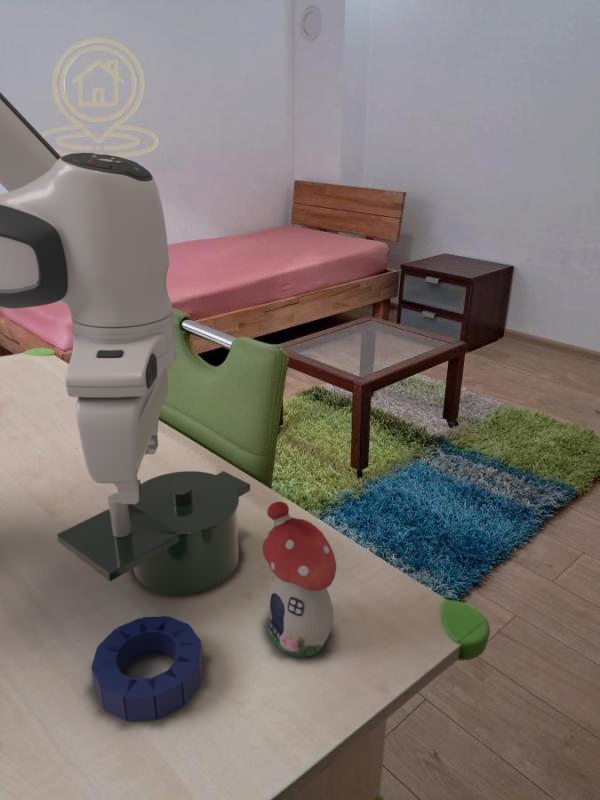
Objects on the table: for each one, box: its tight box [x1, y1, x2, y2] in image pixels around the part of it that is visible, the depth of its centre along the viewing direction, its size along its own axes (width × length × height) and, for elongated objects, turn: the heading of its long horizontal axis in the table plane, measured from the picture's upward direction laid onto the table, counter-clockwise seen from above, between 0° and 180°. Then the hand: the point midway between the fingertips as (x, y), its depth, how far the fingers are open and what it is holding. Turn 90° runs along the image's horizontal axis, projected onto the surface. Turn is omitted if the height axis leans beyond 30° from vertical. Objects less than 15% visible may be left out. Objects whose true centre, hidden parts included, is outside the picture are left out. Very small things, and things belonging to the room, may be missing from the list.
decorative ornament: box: [262, 501, 337, 659], centre depth 66 cm, size 9×7×15 cm
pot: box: [56, 470, 251, 596], centre depth 75 cm, size 22×14×13 cm, turn 139°
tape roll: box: [91, 615, 204, 722], centre depth 62 cm, size 10×10×3 cm
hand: (140, 474), depth 64 cm, fingers open, 8 cm apart
